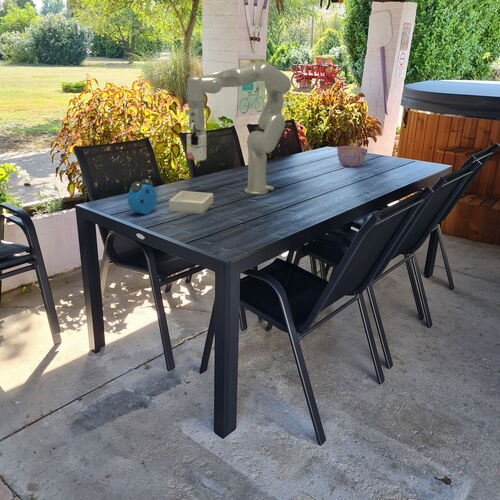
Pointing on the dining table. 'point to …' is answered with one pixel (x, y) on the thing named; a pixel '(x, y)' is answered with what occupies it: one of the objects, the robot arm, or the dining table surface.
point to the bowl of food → (351, 155)
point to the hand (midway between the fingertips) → (196, 143)
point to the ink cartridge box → (197, 146)
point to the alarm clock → (142, 197)
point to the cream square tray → (191, 202)
